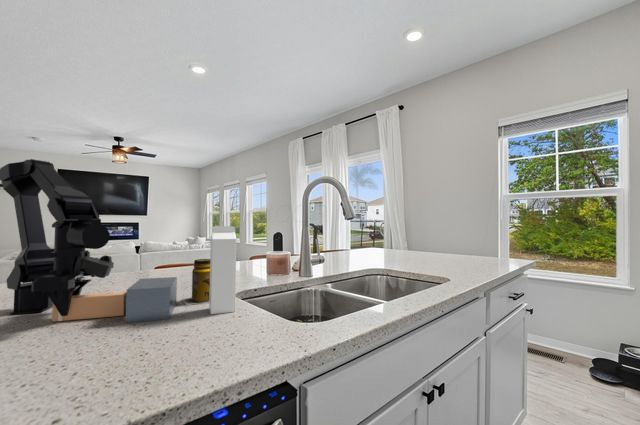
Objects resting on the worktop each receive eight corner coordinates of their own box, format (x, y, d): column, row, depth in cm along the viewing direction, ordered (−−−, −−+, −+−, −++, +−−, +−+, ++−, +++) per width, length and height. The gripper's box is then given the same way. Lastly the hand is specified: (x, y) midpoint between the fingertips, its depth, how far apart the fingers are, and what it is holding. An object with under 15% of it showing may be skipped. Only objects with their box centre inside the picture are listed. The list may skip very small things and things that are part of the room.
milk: (235, 312, 78) (237, 226, 79) (210, 314, 76) (212, 226, 76) (232, 306, 84) (233, 226, 84) (208, 308, 81) (210, 225, 82)
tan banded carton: (51, 321, 69) (52, 299, 69) (58, 317, 72) (59, 296, 72) (123, 315, 74) (123, 294, 74) (126, 311, 77) (127, 291, 77)
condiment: (217, 301, 88) (218, 260, 89) (186, 305, 84) (187, 262, 84) (211, 296, 94) (212, 257, 95) (181, 300, 90) (182, 259, 90)
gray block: (122, 323, 69) (123, 289, 69) (137, 306, 82) (138, 278, 82) (169, 319, 72) (170, 287, 72) (176, 303, 85) (176, 277, 86)
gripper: (96, 250, 66) (93, 322, 65) (121, 243, 83) (119, 301, 83) (31, 251, 62) (28, 328, 62) (71, 244, 80) (69, 304, 79)
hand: (67, 313), depth 71 cm, fingers closed on tan banded carton, 3 cm apart
